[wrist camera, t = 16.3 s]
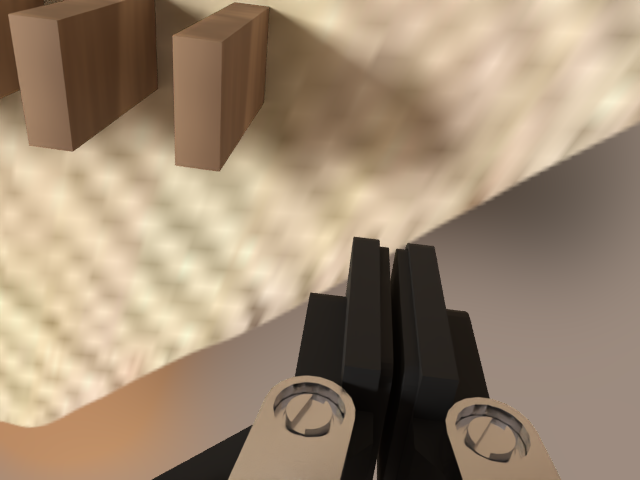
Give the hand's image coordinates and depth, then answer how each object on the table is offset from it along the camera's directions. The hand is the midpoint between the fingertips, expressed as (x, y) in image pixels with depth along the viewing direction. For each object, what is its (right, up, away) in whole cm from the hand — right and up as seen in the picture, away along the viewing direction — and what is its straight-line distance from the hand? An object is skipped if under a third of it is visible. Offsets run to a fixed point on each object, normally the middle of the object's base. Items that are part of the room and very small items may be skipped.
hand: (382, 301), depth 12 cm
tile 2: (-11, +12, +18) cm, 24 cm away
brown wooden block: (-5, +11, +18) cm, 22 cm away
